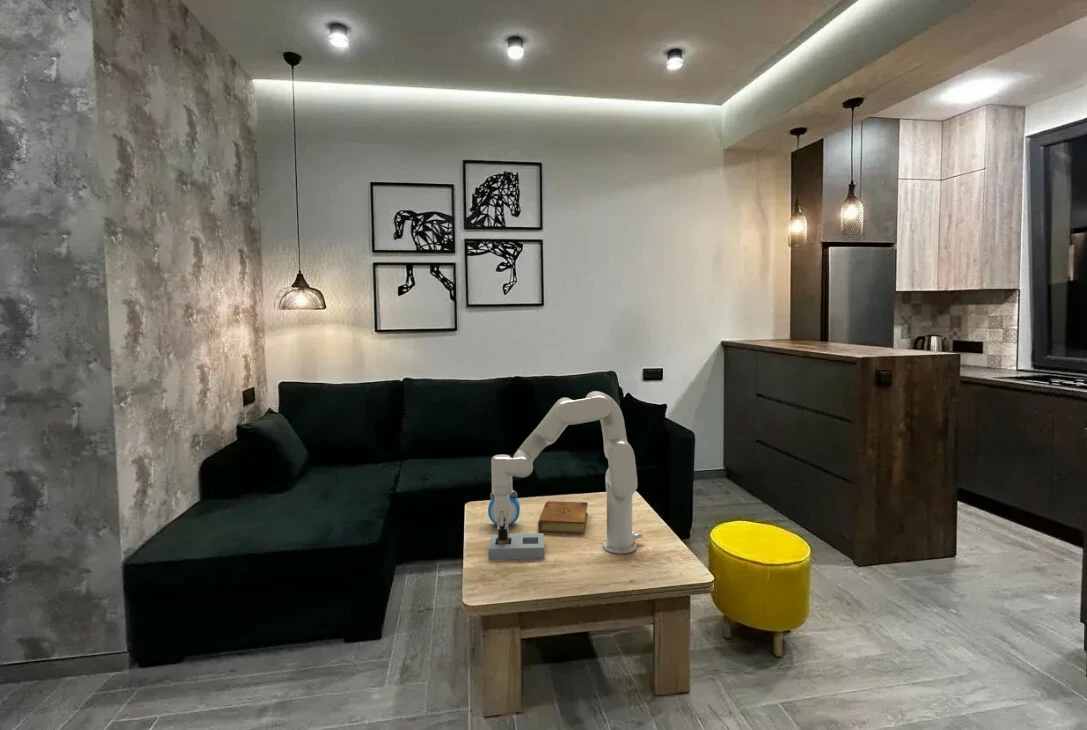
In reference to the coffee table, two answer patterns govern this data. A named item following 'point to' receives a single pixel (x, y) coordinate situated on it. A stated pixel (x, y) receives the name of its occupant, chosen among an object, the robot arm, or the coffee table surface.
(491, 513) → the alarm clock
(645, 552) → the coffee table surface
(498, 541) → the dowel
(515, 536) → the board
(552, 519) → the diary
